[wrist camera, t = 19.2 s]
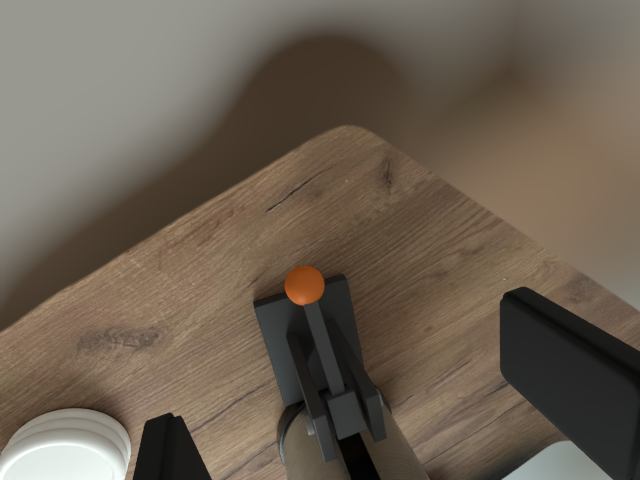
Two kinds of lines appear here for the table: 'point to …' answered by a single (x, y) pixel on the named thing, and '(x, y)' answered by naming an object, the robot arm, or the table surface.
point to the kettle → (345, 450)
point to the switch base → (303, 360)
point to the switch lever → (325, 352)
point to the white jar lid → (67, 448)
